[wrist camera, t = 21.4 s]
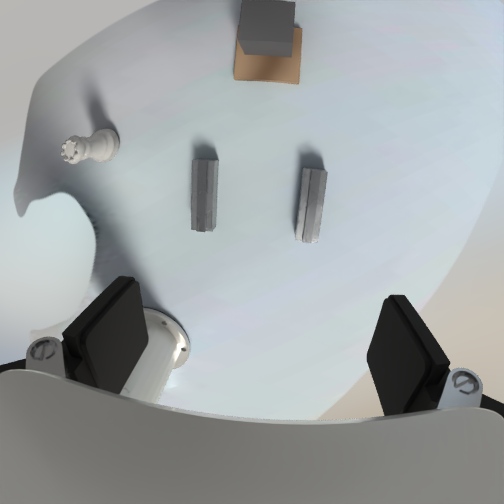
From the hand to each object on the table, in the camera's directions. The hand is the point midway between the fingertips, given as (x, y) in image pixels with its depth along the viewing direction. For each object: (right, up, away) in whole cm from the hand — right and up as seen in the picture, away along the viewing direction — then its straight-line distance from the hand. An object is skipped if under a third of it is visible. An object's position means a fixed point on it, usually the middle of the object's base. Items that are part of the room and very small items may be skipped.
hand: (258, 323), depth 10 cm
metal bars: (0, +9, +22) cm, 24 cm away
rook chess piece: (-19, +17, +21) cm, 33 cm away
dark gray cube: (+2, +26, +13) cm, 29 cm away
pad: (+2, +24, +15) cm, 29 cm away
